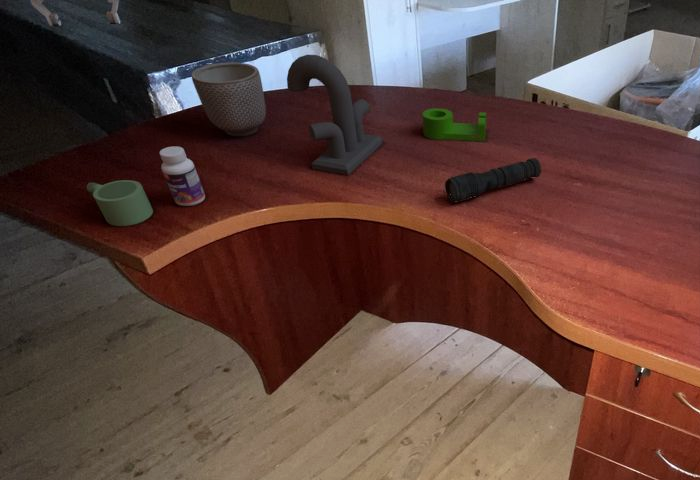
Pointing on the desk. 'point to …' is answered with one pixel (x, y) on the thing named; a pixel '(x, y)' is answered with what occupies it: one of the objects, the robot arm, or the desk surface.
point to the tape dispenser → (451, 126)
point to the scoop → (122, 202)
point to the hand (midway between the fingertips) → (86, 24)
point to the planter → (231, 96)
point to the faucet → (335, 116)
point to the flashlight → (490, 179)
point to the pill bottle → (181, 176)
